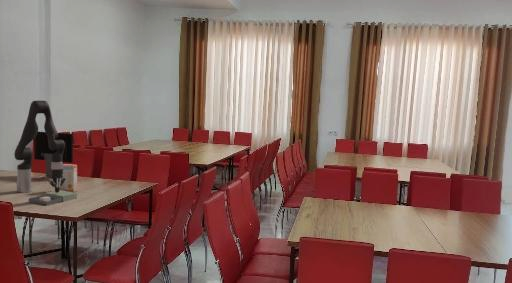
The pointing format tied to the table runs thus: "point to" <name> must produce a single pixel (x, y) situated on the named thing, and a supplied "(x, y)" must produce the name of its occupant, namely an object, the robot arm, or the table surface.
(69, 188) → the cracker box
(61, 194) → the plate
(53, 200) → the tray
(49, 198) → the block
